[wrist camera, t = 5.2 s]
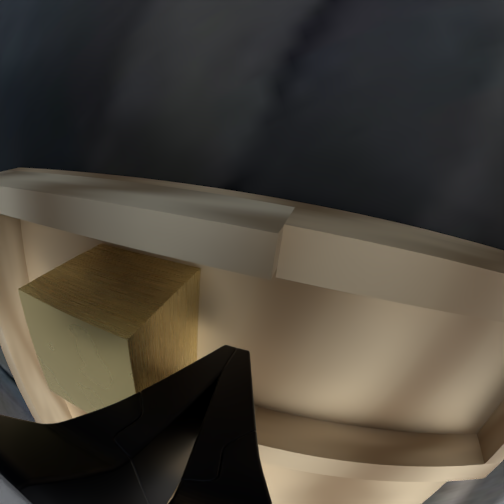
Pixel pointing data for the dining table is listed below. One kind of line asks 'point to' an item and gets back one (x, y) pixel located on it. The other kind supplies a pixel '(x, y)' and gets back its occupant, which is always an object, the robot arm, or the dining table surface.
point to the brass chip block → (112, 323)
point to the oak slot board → (295, 325)
